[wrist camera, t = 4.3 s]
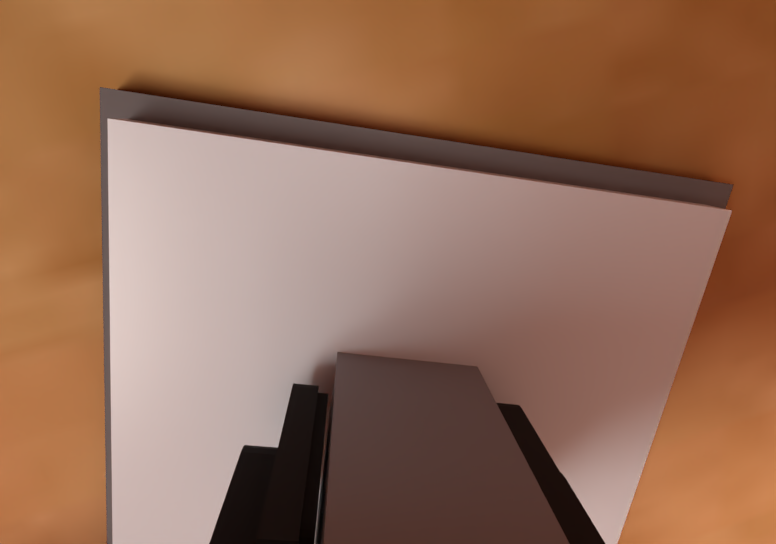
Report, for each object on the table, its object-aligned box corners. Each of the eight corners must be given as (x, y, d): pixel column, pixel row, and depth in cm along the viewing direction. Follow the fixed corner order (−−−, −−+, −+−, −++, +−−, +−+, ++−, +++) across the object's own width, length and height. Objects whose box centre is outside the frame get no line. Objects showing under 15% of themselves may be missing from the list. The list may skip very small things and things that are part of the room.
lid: (127, 118, 9) (-213, 106, 4) (704, 204, 11) (1096, 290, 5) (128, 600, 12) (-52, 978, 7) (568, 620, 14) (712, 952, 8)
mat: (115, 89, 10) (99, 87, 9) (713, 181, 11) (733, 184, 10) (118, 593, 13) (108, 614, 13) (571, 614, 15) (580, 634, 14)
